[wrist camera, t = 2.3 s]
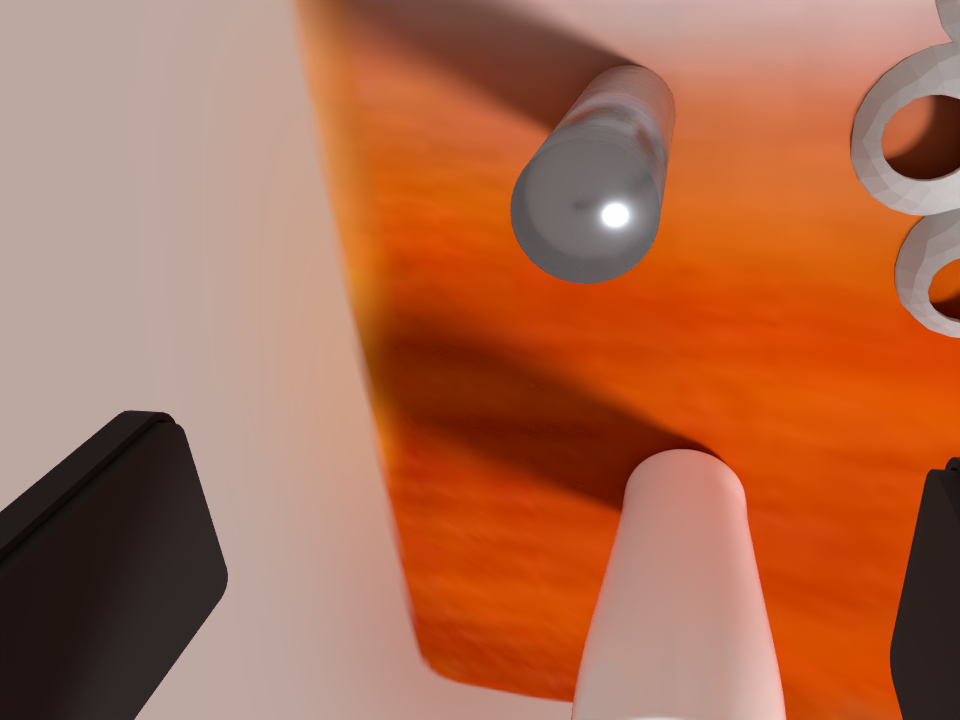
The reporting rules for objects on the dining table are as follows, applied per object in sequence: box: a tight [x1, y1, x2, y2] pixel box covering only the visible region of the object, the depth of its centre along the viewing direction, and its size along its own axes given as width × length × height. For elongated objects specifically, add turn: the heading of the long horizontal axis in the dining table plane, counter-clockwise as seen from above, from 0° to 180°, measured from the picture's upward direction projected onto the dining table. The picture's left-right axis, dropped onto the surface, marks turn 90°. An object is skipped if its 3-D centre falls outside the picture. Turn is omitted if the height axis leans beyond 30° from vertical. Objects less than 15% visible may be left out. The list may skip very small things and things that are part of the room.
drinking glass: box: [571, 449, 786, 720], centre depth 30 cm, size 7×7×15 cm
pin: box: [511, 65, 675, 284], centre depth 24 cm, size 4×4×12 cm
